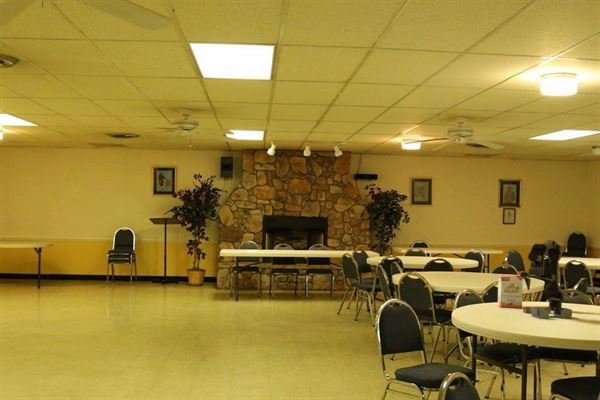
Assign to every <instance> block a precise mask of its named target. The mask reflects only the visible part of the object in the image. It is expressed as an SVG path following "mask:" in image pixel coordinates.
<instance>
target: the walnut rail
mask: <svg viewBox="0 0 600 400" xmlns="http://www.w3.org/2000/svg"><path fill="white" fill-rule="evenodd" d="M531 308H542V310H549V313H551V314H552V310H551V307H549V305H548V306H547V305H546V306H545V305H544V306H539V305H538V306H534V305H533V306H532V305H531V306H530V305H529V306H527V305H526V306H525V305H524V306H523V305H522V313H523V314H531Z"/></svg>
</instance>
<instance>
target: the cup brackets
mask: <svg viewBox="0 0 600 400" xmlns="http://www.w3.org/2000/svg"><path fill="white" fill-rule="evenodd" d="M530 315H531V317H533V318H536V319H538V320H539V319H540V318H541V319H542V318H543V320H548V319H563V320H567V319H568V320H569V319H572V316H573V309H571V308H567V307H562V308H554V311H553V315H550V314H549V310H542V308H531V313H530ZM544 318H545V319H544ZM541 319H540V320H541Z"/></svg>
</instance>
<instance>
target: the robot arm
mask: <svg viewBox="0 0 600 400" xmlns="http://www.w3.org/2000/svg"><path fill="white" fill-rule="evenodd" d="M546 254H547V258H548V259H549V261H550V274H549V273H544V270H545V259H546V256H545V255H546ZM562 257H563V248H562V247H561V245H560V244H558V243H557V241H556V240H546V241H544V242H542V243H536V242H535V243H534V244H533V245H532V248H531V249H530V252H529V253H528V255H527V259H528V260H529V261H530V262H532V267H530V268H528V272H525V271H522V272H521V271H520V273H519V275H520V277H522V278H523V281H524V282H525V285H526V289H527V290H528V291H530V289H531V288H530V287H531V278H536V279H543V281H544V283H543V293H544V292H546V300H547V301H549V302H548V307H551V312H554V308H563V307H562V303H563V302H565V297H564V293H563V291H562V287H561V286H560V283H559V282H560V278H559V276H560V275H559V274H560V273H559V271H560V270H559V269H560V267H559V266H560V265H559V263H560V260H561V258H562Z"/></svg>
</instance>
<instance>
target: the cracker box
mask: <svg viewBox="0 0 600 400" xmlns="http://www.w3.org/2000/svg"><path fill="white" fill-rule="evenodd" d="M523 281H524V279H523V278H522V277H520V274H507V273H506V274H504V273H503V274H502V273H500V274H498V283H497V286H498V287H497V307H499V308H511V309H512V308H513V309H523V285H524V284H523V283H524V282H523Z"/></svg>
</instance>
